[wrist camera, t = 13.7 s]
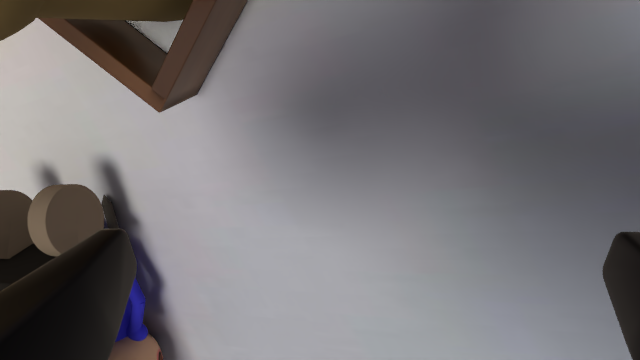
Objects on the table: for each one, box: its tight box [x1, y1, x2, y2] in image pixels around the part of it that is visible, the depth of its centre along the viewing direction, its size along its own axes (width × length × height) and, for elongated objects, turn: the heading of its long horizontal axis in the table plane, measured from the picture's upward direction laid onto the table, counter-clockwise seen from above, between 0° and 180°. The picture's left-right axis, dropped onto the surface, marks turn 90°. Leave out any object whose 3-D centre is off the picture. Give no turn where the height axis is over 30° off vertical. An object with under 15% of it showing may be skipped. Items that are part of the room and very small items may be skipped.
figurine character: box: [0, 184, 163, 360], centre depth 26 cm, size 7×8×15 cm
